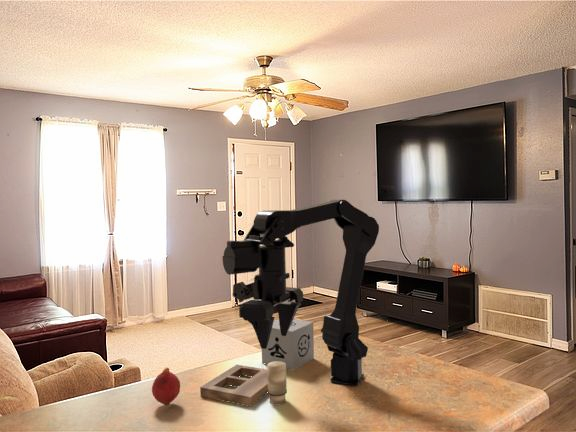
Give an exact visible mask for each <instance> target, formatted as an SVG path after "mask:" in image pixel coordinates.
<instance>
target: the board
mask: <svg viewBox="0 0 576 432" xmlns="http://www.w3.org/2000/svg"><path fill="white" fill-rule="evenodd" d="M240 375H247V376H246V377H245V378H244V377H242V376H240ZM239 376H240V377H239ZM248 376H252V377H249V378H247V377H248ZM226 385H227V386H228V385H232V386H231V387H233V386H239V387H235V388H234V389H232V388H226V387H227V386H226ZM267 392H268V371H267V369H266V368H259V367H253V366H247V365H243V364H235V365H234V366H232V367H230V368H229V369H227V370H226V371H224V372H222V373H221V374H219V375H218V376H216V377H214V378H213V379H211V380H209V381H208V382H206V383H205V384H202V386H200V397H204V398H209V399H214V400H217V399H218V401H222V400H223V402H227V401H229V402H228V403H232V402H234V403H233V404H237V403H239V404H238V405H241V404H244V405H243V406H246V405H248V406H247V407H252V406H253V405H255V404H256V403H257V402H258V401H260V400H261V399H262V398H264V397H265V396H266V395H267V394H268V393H267ZM266 393H267V394H266ZM265 394H266V395H265ZM261 397H262V398H261ZM260 398H261V399H260Z"/></svg>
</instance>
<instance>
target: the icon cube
mask: <svg viewBox="0 0 576 432" xmlns="http://www.w3.org/2000/svg"><path fill="white" fill-rule="evenodd" d="M314 347H315V342H314V322H313V321H308V320H302V319H296V318H295V319H293V321H292V323H291V326H290V328H289V330H288V333H287V335H286V336H282V335H281V331H280V323H279V318H278V319H274V322H273V326H272V330H271V334H270V338H269V342H268V345H267V348H266V349H262V348H261V364H264V363H265V364H264V365H267V364H268V363H270V362H274V361H281V362H284V363H286V370H290V371H295V370H297V369H298V368H301V367H302V366H304V365H305V364H308V363H309V362H311V361H313V360H314V359H315V352H314V351H315V349H314Z"/></svg>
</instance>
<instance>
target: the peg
mask: <svg viewBox="0 0 576 432" xmlns="http://www.w3.org/2000/svg"><path fill="white" fill-rule="evenodd" d="M266 365H267V371H268V393H267V394H268V396H269V403H270V404H271V403H272V404H271V405H274V404H278V405H277V406H279V404H280V405H283V404H284V403H286V394H287V393H288V391H287V369H286V363H284V362H281V361H274V362H270V363H268V364H266Z"/></svg>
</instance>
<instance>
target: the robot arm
mask: <svg viewBox="0 0 576 432" xmlns="http://www.w3.org/2000/svg"><path fill="white" fill-rule="evenodd" d="M329 220H334V222H335V224H336V225H337V226H338V227H339V228H340V229H341V230H342V240H343V241H342V242H343V244H344V247H345V248H344V249H345V254H344V259H343V260H344V261H343V266H342V270H341V274H340V276H341V277H340V280H339V281H340V282H339V285H338V291H337V295H336V300H335V301H336V302H335V307H334V310H333V311H332V312H331V313H330V315H326V314H325V315H324V317H323V323H322V328H321V329H320V333H321V335H322V336H321V337H322V340H323V342H324V343H325V345H326V347H327V350H328V351H329V352H332V358H331V359H330V376H331V378H330V379H329V380H330V382H331V383H337V384H343V385H349V386H354V387H355V386H358V385H359V383H360V382H361V381H362V380H363V378H364V377H365V374H364V373H363V372H362V371H363V367H362V360H363V358H366V357H367V355H368V350H369V348H368V346H367V345H366V344H365V343H364V342H363V341H362V340H361V339H360V338H359V335H360V326H359V322H358V318H357V315H356V312H357V306H358V302H359V298H360V297H359V296H360V290H361V286H362V280H363V276H364V271H365V264H366V259H367V255H368V253H369V252H370V251H371V249H372V248H373V247H374V246H375V244H376V241H377V239H378V236H379V230H380V225H379V223H378V221H377V220H376V218H374V217H373V216H370V215H369V214H367V213H366V212H364V211H362V210H361V209H359V208H357V207H355V206H353V205H352V204H351V203H350V202H349V201H348V200H346V199H331V200H330V201H325V202H321V203H317V204H313V205H308V206H303V207H299V208H296V209H291V210H289V209H287V210H285V209H284V210H279V209H278V210H261V211H258V213H256V215H255V217H254V220H253V224H252V225H251V227H250V229H249V231H248V233H247V234H246V236H245V238H244V239H243V240H227V241H226V247H225V249H224V251H223V255H222V265H223V268H224V271H225V273H226V274H227V275H231V276H233V275H239V274H246V273H252V272H253V273H254V272H256V271H257V270H258V274H255V275H254V278H253V280H254V281H253V282H251V283H248V284H246V283H245V282H244V281H240V282H237V283H234V284H233V286H232V297H233V298H235V300H238V303H242V304H241V305H240V306H239V307H238V316H239V318H241V319H243V320H244V321H247V322H248V323H249V324H251V326H252V327H253V330H254V332H255V335H256V337H257V340H258V344H259V347H260V348H261V350H262V349H266V348H267V345H268V342H269V338H270V334H271V330H272V326H273V322H274V321H275V316H274V313H275V309H276V310H277V315H278V319H279V323H280V331H281V335H282V336H286V335H287V333H288V330H289V328H290V326H291V323H292V321H293V319H294V318H295V316H296V314H297V312H298V309H299V308H300V306H301V305H302V304H301V302H303V301H304V292H303V290H302V289H301V288H300V287H289V286H287V280H288V279H289V278H291V277H290V272H287V270H286V268H287V267H286V248H293V247H294V246H295V244H294V242H292V241H291V240H290V239H289V238H288V235H290V234H293V233H294V232H295V231H296V230H297V229H299V228H302V227H306V226H308V225H313V224H316V223H317V224H318V223H320V222H325V221H329ZM249 299H250V300H249ZM246 300H248V301H246ZM244 301H245V302H244Z"/></svg>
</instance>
